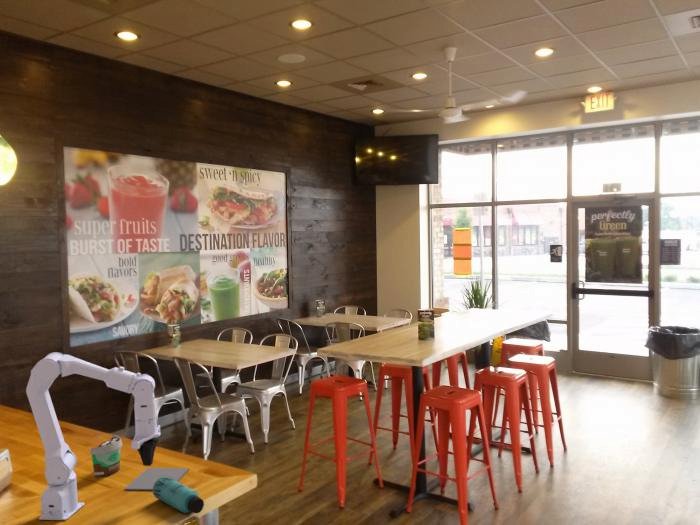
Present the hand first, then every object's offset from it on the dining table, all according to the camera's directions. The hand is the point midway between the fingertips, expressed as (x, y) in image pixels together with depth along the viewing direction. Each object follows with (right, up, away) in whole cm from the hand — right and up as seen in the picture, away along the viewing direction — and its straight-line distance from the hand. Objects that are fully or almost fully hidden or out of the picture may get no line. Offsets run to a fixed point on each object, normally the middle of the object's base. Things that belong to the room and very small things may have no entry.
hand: (147, 464), depth 171 cm
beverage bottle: (+2, -7, +2) cm, 8 cm away
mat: (-2, -10, +15) cm, 17 cm away
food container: (-19, -10, +22) cm, 31 cm away
